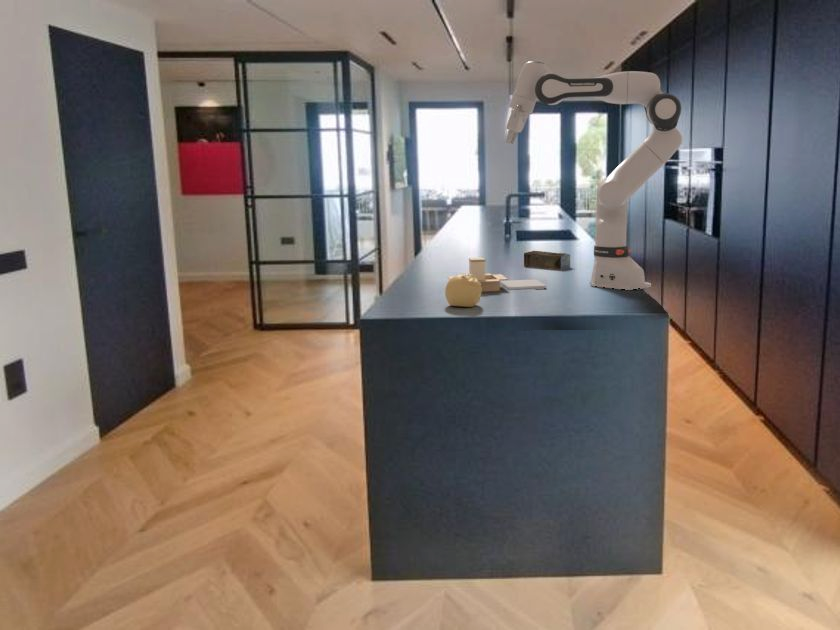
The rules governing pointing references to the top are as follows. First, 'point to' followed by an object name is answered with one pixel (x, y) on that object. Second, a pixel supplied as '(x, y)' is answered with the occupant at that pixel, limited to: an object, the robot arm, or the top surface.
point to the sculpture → (463, 290)
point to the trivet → (523, 284)
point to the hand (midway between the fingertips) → (509, 143)
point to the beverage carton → (547, 260)
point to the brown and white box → (477, 268)
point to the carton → (490, 282)
